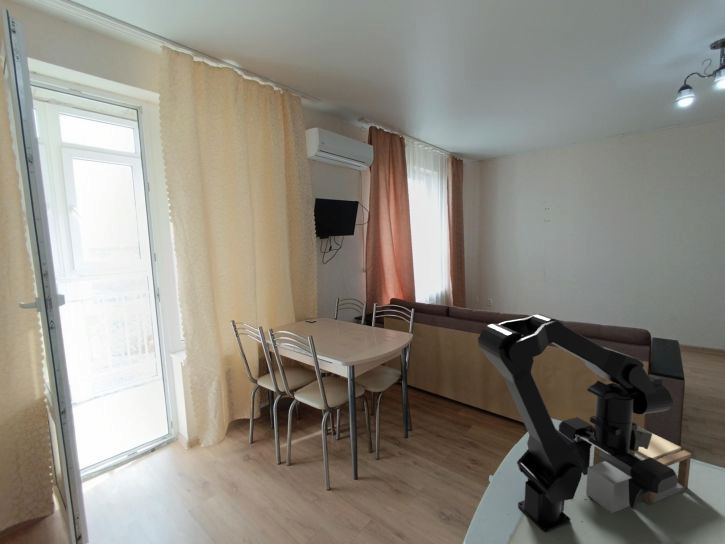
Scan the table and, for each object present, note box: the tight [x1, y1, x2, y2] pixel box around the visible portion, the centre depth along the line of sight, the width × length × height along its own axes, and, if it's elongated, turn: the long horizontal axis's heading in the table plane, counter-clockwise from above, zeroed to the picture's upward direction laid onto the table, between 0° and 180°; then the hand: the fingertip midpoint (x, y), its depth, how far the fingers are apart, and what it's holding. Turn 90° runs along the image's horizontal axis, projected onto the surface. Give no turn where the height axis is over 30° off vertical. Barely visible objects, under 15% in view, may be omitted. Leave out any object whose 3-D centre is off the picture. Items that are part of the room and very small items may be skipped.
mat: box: [634, 455, 686, 505], centre depth 72 cm, size 12×11×1 cm
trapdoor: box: [599, 433, 682, 477], centre depth 71 cm, size 13×8×6 cm, turn 109°
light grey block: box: [585, 461, 632, 514], centre depth 66 cm, size 5×5×6 cm
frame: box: [592, 445, 692, 505], centre depth 71 cm, size 12×11×8 cm
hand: (607, 489), depth 66 cm, fingers open, 9 cm apart
